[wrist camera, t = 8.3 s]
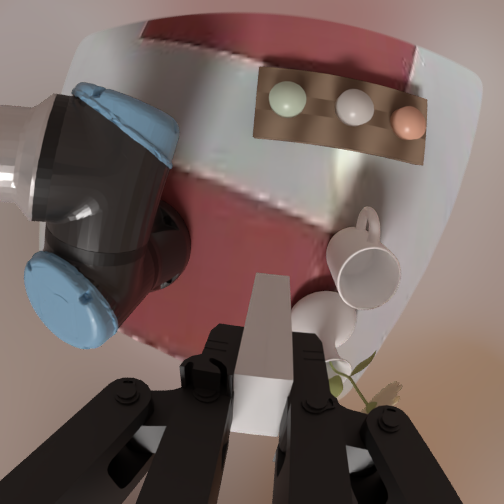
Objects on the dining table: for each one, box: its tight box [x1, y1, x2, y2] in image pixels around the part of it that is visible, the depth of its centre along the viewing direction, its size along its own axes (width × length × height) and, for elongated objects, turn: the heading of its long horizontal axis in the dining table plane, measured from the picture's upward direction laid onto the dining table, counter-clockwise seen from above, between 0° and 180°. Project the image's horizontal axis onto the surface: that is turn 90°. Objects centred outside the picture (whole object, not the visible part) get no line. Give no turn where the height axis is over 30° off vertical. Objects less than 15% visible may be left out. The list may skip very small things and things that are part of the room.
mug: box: [326, 206, 401, 310], centre depth 36 cm, size 12×8×10 cm
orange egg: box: [390, 106, 426, 140], centre depth 30 cm, size 4×4×4 cm
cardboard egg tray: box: [253, 67, 427, 165], centre depth 33 cm, size 24×10×3 cm, turn 85°
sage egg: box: [269, 81, 306, 118], centre depth 31 cm, size 4×4×4 cm
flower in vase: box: [291, 291, 402, 414], centre depth 33 cm, size 13×11×25 cm
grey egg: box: [334, 89, 374, 126], centre depth 30 cm, size 4×4×4 cm
